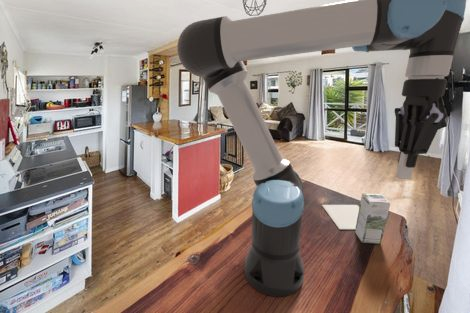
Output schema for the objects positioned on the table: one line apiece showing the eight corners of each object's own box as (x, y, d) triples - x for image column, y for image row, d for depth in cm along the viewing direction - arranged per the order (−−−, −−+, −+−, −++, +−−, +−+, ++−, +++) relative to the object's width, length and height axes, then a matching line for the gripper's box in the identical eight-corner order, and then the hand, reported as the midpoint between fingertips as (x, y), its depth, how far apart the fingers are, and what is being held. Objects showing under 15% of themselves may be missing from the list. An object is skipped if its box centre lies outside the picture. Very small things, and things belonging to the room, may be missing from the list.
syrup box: (372, 233, 76) (380, 193, 72) (381, 245, 71) (391, 202, 66) (354, 232, 77) (361, 192, 73) (362, 243, 71) (369, 201, 67)
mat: (339, 229, 78) (339, 228, 78) (322, 205, 94) (322, 204, 94) (381, 229, 78) (381, 228, 78) (356, 205, 94) (356, 204, 94)
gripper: (471, 77, 45) (440, 189, 52) (420, 79, 57) (400, 168, 64) (432, 77, 45) (406, 189, 52) (389, 79, 57) (373, 169, 64)
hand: (403, 177), depth 58 cm, fingers closed
